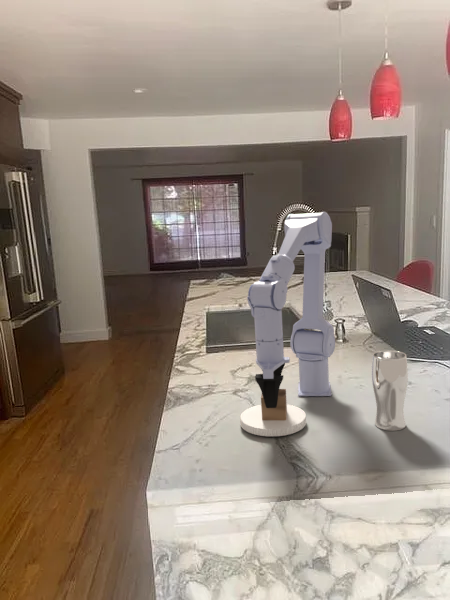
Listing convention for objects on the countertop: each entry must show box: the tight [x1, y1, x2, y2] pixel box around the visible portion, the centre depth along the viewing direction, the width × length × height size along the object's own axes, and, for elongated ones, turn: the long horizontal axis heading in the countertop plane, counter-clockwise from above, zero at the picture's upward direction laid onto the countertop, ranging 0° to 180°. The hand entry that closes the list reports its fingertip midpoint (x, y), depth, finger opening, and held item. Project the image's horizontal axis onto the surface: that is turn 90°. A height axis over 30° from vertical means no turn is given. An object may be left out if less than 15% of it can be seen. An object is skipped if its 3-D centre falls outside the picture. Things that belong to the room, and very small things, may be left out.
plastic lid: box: [239, 403, 307, 437], centre depth 107 cm, size 14×14×2 cm
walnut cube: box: [260, 388, 288, 420], centre depth 106 cm, size 5×5×5 cm
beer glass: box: [371, 349, 409, 432], centre depth 101 cm, size 7×7×15 cm
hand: (272, 400), depth 106 cm, fingers open, 7 cm apart
